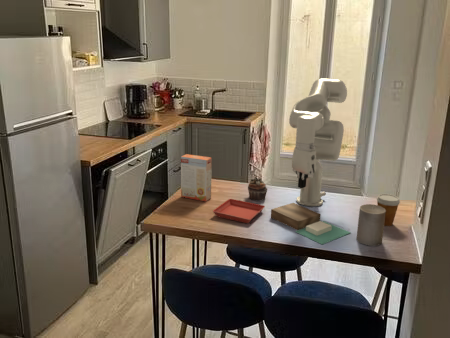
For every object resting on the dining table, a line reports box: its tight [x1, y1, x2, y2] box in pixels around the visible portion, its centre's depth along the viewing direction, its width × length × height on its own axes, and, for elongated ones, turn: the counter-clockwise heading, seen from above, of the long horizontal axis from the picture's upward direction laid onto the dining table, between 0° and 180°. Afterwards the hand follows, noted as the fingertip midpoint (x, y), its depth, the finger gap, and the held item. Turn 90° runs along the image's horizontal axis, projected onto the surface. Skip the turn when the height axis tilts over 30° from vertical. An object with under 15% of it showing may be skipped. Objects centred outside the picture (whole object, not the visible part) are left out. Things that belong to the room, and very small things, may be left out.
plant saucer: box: [212, 198, 265, 224], centre depth 193 cm, size 18×18×3 cm
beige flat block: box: [306, 220, 332, 235], centre depth 178 cm, size 9×6×2 cm, turn 128°
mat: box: [294, 221, 351, 245], centre depth 177 cm, size 18×14×1 cm
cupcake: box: [247, 177, 268, 201], centre depth 213 cm, size 10×10×10 cm
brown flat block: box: [270, 202, 321, 231], centre depth 188 cm, size 14×16×4 cm
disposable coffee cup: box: [376, 193, 401, 227], centre depth 187 cm, size 10×10×12 cm
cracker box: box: [180, 153, 213, 202], centre depth 209 cm, size 14×6×21 cm, turn 65°
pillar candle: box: [356, 203, 386, 247], centre depth 169 cm, size 10×10×15 cm
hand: (301, 187), depth 184 cm, fingers closed
